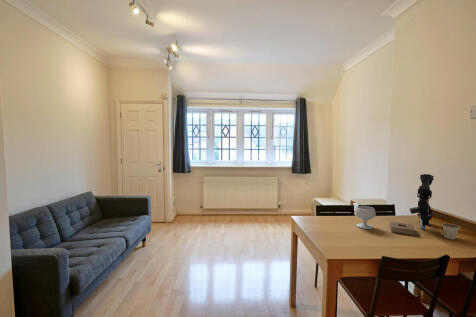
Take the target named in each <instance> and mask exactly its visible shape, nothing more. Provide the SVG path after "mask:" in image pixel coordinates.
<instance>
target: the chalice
mask: <svg viewBox="0 0 476 317" xmlns="http://www.w3.org/2000/svg"><path fill="white" fill-rule="evenodd" d="M354 213H355V216H356V217H358V218H359V219H361V220H362V221H363V222H362V223H357V224H355V225H356V227H357V228H360V229H362V230H363V229H365V230H373V229H374V228H375V227H374V226H373V225H372V224H369V223H367V222H368V221H369V220H373V219H375V217H377V216H376V215H377V214H376V210H375V208H374V207H372V206H368V205H358V206H356V208H355V210H354Z"/></svg>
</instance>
